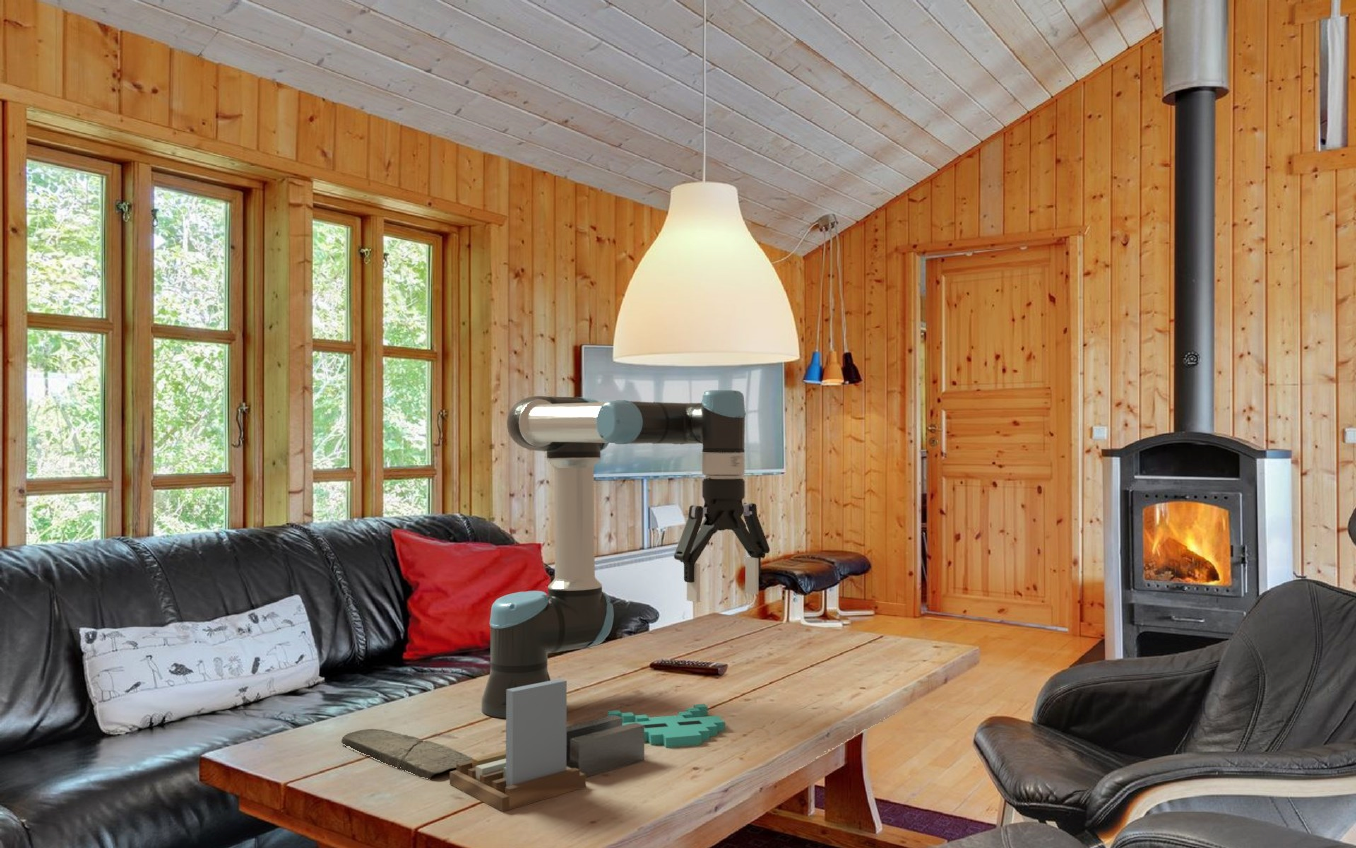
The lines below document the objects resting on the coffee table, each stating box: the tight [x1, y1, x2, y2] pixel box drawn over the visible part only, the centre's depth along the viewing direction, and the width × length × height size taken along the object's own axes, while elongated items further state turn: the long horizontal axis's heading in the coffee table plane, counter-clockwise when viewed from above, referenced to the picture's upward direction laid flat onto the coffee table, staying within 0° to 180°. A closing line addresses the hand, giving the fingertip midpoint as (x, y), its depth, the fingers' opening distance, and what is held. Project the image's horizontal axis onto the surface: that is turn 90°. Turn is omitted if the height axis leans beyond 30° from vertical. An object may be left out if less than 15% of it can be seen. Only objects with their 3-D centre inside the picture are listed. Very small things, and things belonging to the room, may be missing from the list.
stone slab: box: [341, 728, 473, 780], centre depth 169 cm, size 10×3×30 cm
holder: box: [566, 715, 645, 778], centre depth 165 cm, size 8×14×6 cm, turn 132°
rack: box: [449, 760, 587, 812], centre depth 154 cm, size 16×15×3 cm
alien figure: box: [607, 703, 726, 749], centre depth 184 cm, size 20×2×20 cm
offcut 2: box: [476, 759, 506, 781], centre depth 155 cm, size 2×11×4 cm, turn 133°
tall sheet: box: [505, 678, 568, 787], centre depth 150 cm, size 2×10×17 cm, turn 133°
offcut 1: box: [472, 749, 506, 768], centre depth 158 cm, size 2×9×4 cm, turn 132°
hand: (723, 597), depth 171 cm, fingers open, 13 cm apart
